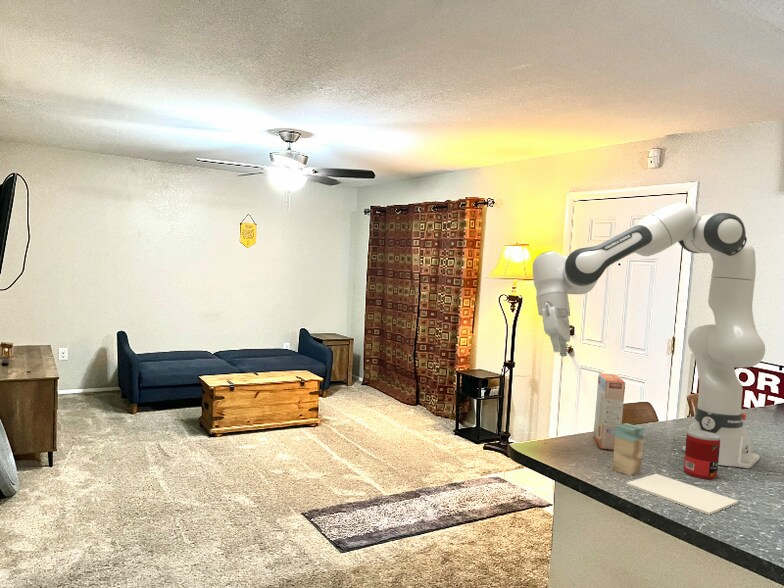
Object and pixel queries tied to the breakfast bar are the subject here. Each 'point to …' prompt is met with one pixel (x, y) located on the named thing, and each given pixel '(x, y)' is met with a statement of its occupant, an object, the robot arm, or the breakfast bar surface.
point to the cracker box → (608, 409)
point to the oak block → (628, 449)
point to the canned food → (702, 454)
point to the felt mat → (682, 493)
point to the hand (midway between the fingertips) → (560, 354)
